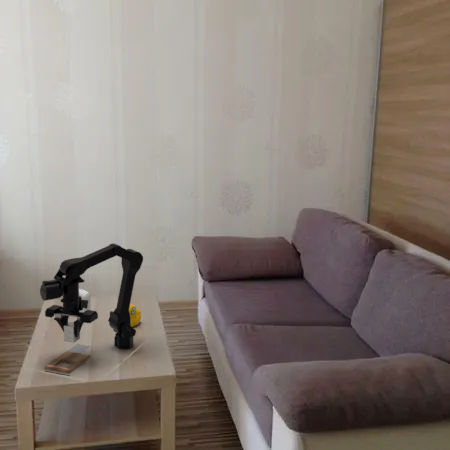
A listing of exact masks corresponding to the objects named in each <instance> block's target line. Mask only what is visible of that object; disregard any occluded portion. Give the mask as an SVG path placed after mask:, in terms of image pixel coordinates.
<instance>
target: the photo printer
mask: <svg viewBox="0 0 450 450" xmlns="http://www.w3.org/2000/svg"><path fill="white" fill-rule="evenodd" d="M79 296H81V298H82V300H88V306H87V309H86V308H83V310H80V311H79V312H85V311H87V310H92V309H91V305H92V304H91V293H90V292H88V291H87V290H84V289H82V288H79Z"/></svg>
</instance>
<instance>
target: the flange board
mask: <svg viewBox="0 0 450 450" xmlns="http://www.w3.org/2000/svg"><path fill="white" fill-rule="evenodd" d="M90 358H91V355H90V354H87V353H86V354H85V353H75V352H70V351H68V350H66V351H64V352H63V353H62V354H60V355H59V356H57V357H56V358H54V359H53V360H51V361H50V362H48V363H46V365H44V367H43V368H44V373H51V374H56V375H62V376H67V377H70V376H71V375H69V374H71V373H72V372H73V371H75V370H76V369H77V368H78V367H80V366H81V365H83V364H84V363H85V362H86V361H88V360H89V359H90ZM60 363H66V364H69V365H68V366H67V367H64V366H59V364H60Z"/></svg>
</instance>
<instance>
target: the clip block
mask: <svg viewBox="0 0 450 450" xmlns="http://www.w3.org/2000/svg"><path fill="white" fill-rule="evenodd" d="M80 333H81V332H80ZM80 333H79V336H78V337H76V335H75V329H74V321H68V323H67V324H66V325H64V332H63V341H64V342H68V343H73V344H74V343H76V342H78V341H79V340H80V338H81V334H80Z"/></svg>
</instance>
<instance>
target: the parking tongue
mask: <svg viewBox="0 0 450 450" xmlns="http://www.w3.org/2000/svg"><path fill="white" fill-rule="evenodd" d="M91 347H92V346H90V345H85V344H78V343H76V344H75V345H74V346H72V347H71V348H69V349H68V350H67V351H70V352H75V353H81V354H84V352H85V351H87V350H88V349H90V348H91Z"/></svg>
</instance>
